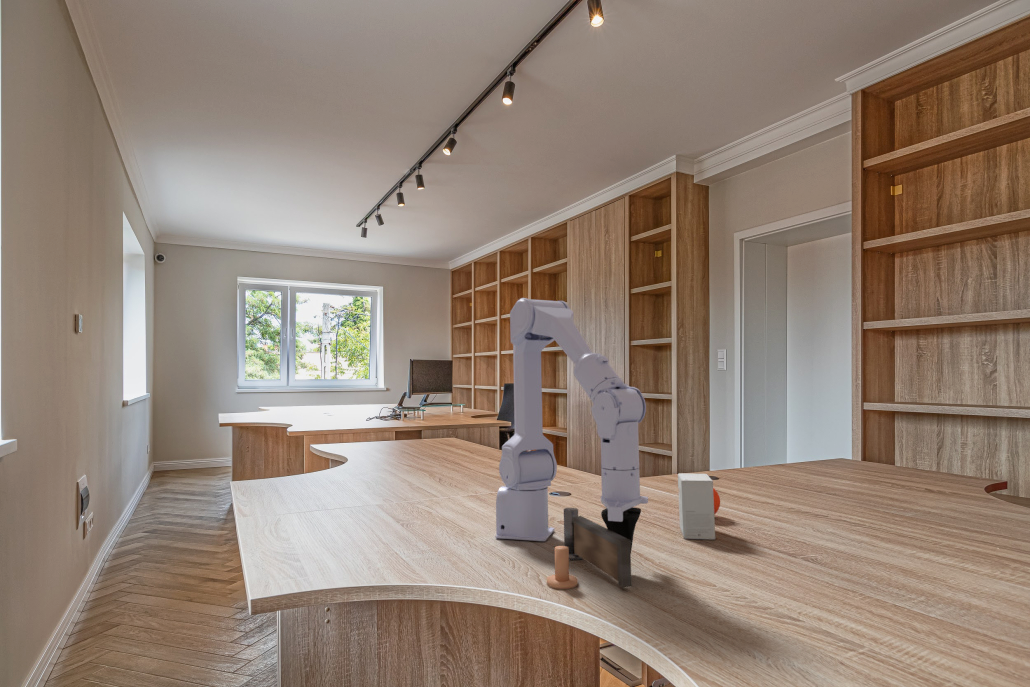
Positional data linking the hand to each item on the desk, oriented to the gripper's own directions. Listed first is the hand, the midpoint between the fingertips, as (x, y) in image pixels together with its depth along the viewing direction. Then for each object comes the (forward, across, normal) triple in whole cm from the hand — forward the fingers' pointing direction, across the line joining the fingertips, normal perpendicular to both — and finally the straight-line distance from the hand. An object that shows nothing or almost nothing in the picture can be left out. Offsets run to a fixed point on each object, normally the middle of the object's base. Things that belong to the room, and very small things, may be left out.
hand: (622, 558), depth 86 cm
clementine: (+2, +37, -12) cm, 39 cm away
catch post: (+2, -7, +8) cm, 11 cm away
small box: (+2, +24, -11) cm, 27 cm away
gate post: (+2, +6, +9) cm, 11 cm away
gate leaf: (+1, -2, +3) cm, 4 cm away
